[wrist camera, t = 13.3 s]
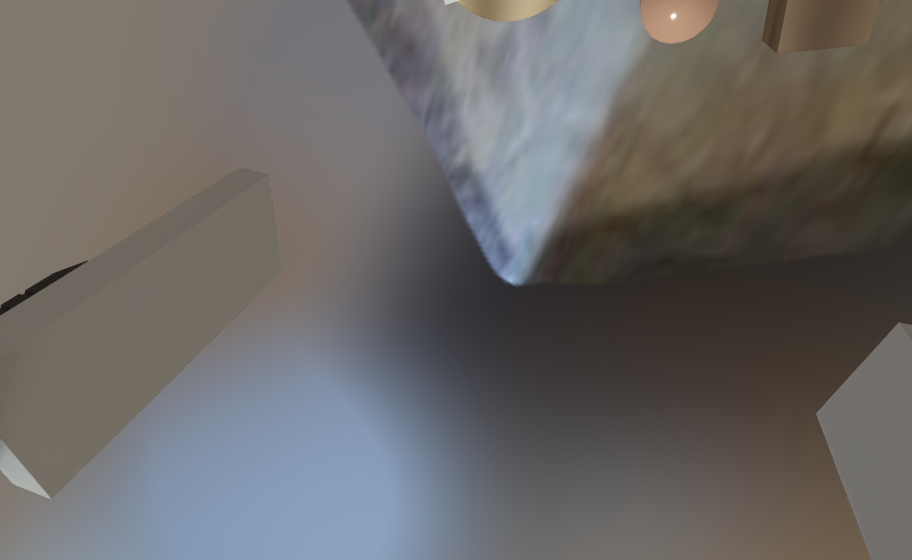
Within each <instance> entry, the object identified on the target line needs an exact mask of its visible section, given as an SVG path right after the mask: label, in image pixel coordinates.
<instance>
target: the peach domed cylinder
mask: <svg viewBox="0 0 912 560" xmlns="http://www.w3.org/2000/svg"><path fill="white" fill-rule="evenodd" d="M718 2H719V0H640V11H641V19H642V22H643V25H644V27H645V29H646V31H647V32H648V33H649V34H650V35H651V36H652V37H653V38H654V39H656V40H658V41H661V42H664V43H679V42H683V41H686V40H688V39H691V38H692V37H694V36H696V35H697V34H698V33H700V32H701V31H702V30H703V29H704V28H705V27H706V26H707V25H708V23H709V22H710V21H711V19H712V17H713V16H714V14H715V11H716V9H717V6H718Z"/></svg>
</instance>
